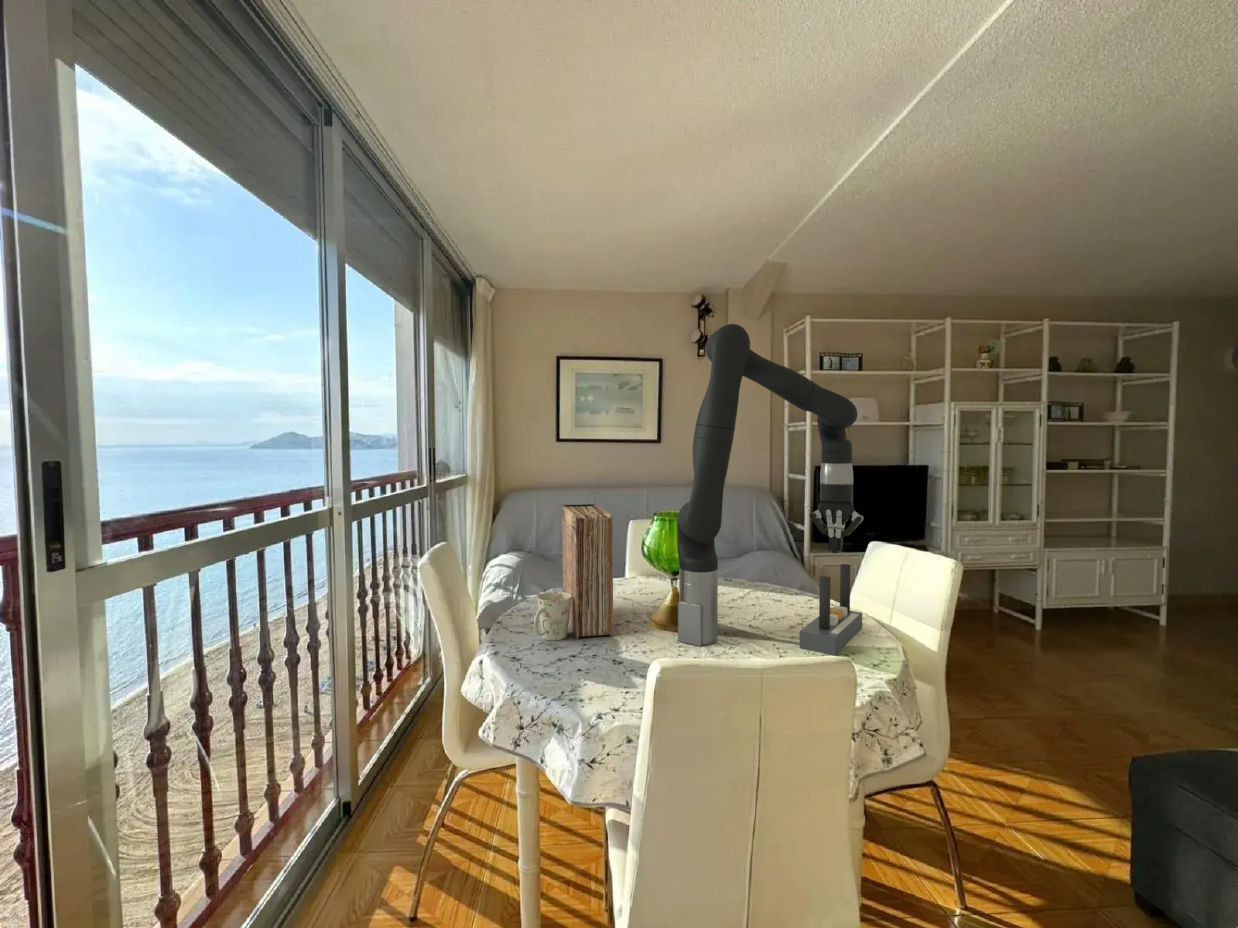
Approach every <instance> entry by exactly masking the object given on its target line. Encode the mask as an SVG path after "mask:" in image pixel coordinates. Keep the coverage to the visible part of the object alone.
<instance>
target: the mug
mask: <svg viewBox="0 0 1238 928" xmlns="http://www.w3.org/2000/svg"><path fill="white" fill-rule="evenodd" d="M536 600H537V608H538V609H537V611H536V614H535V616H534V619H533V630H534V633H535V636H538V637H542V639H544V640H546V641H560V640H564V639H566V638H567V637H568V630H569V615H570V607H571V595H570V594H568V593H564V592H563V591H550V592H544V593H540V594H538V595H537V598H536ZM538 623H540V624H538ZM538 625H540V629H541V631H540V630H539V626H538Z"/></svg>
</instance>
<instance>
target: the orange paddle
mask: <svg viewBox="0 0 1238 928" xmlns="http://www.w3.org/2000/svg"><path fill="white" fill-rule="evenodd" d="M830 614H835V615H838V620H841V619H842V618H843V610H840V609H834V608H833V607H830Z"/></svg>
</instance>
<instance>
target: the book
mask: <svg viewBox="0 0 1238 928" xmlns="http://www.w3.org/2000/svg"><path fill="white" fill-rule="evenodd" d="M561 541H562V543H561V544H562V546H561V549H562V552H561V553H562V556H561V557H562V561H561V563H562V567H561V568H562V592H564V593H568V594H570V595H571V607H570V615H569V623H568V626H569V627H570V630H571V632H572V634H573V636H574V638H575V640H576V641H578V640H579V638H580V637H593V636H594V637H595V636H606V635H607V636H608V635H609V636H610V637H614V515H613V514H612V513H611V512H608V511H607V510H605V509H603V508H602V507H600V506H598V505H596V504H594V503H592V504H562V505H561Z"/></svg>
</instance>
